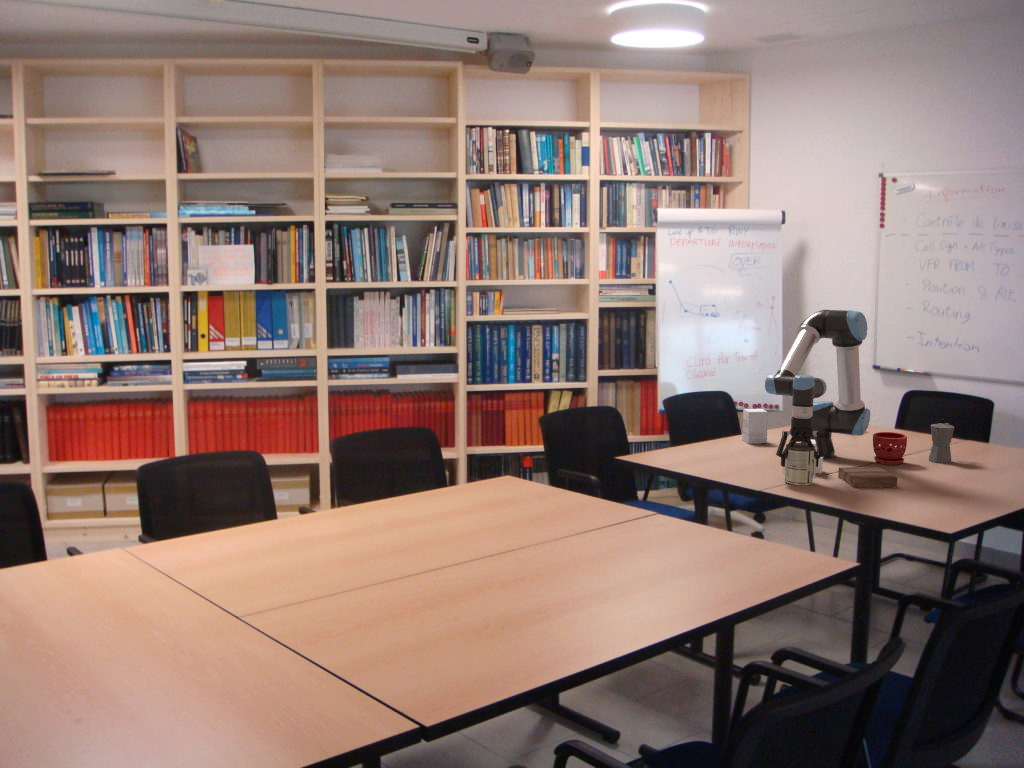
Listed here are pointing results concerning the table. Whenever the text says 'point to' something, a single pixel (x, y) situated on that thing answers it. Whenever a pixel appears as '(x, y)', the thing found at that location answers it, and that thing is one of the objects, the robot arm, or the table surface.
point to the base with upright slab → (820, 463)
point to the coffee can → (800, 464)
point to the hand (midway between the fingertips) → (798, 475)
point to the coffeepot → (941, 442)
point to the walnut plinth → (867, 477)
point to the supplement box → (755, 426)
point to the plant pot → (889, 447)
